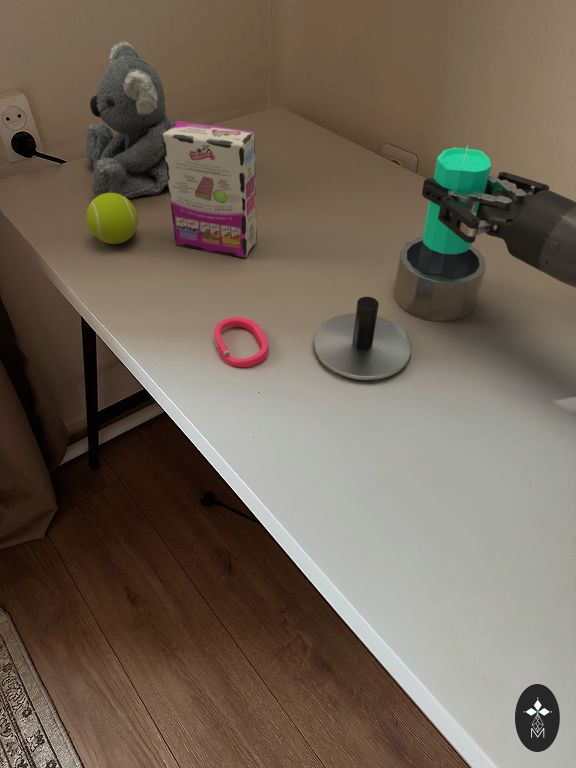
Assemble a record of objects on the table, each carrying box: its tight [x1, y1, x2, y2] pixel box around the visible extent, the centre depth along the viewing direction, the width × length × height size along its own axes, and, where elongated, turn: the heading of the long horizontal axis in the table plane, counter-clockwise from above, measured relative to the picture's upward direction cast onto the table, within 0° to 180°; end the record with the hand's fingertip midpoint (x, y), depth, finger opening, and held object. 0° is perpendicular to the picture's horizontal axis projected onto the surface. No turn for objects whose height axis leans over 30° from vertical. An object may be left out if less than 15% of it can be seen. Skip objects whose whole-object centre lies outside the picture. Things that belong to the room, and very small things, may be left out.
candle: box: [422, 145, 492, 254], centre depth 74 cm, size 6×6×12 cm
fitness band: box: [212, 316, 269, 368], centre depth 76 cm, size 8×6×2 cm
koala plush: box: [85, 39, 174, 200], centre depth 100 cm, size 17×18×20 cm
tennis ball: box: [86, 193, 139, 245], centre depth 90 cm, size 7×7×7 cm
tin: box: [393, 236, 487, 322], centre depth 82 cm, size 11×11×6 cm
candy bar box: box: [163, 120, 258, 258], centre depth 87 cm, size 11×5×16 cm, turn 73°
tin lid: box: [313, 296, 412, 381], centre depth 74 cm, size 12×12×7 cm
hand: (441, 179), depth 75 cm, fingers closed on candle, 5 cm apart
